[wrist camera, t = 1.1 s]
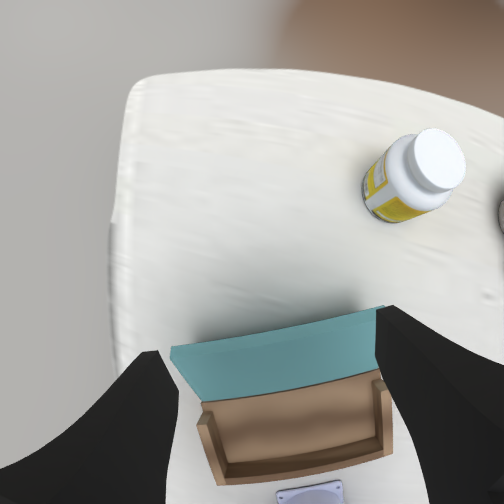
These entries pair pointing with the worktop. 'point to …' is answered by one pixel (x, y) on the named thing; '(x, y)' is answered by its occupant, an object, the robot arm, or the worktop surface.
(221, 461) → the wooden box
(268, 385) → the teal box lid
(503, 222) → the mug
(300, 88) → the worktop surface
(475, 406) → the robot arm
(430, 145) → the pill bottle
